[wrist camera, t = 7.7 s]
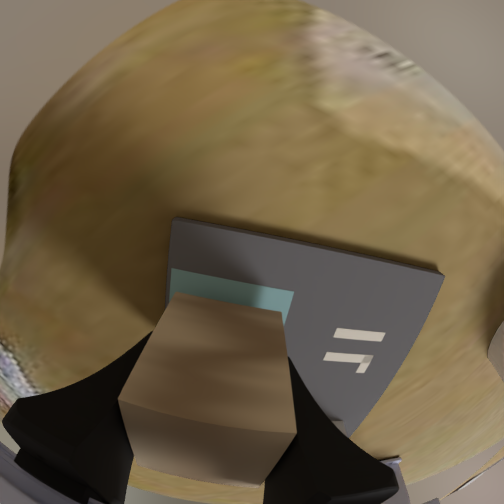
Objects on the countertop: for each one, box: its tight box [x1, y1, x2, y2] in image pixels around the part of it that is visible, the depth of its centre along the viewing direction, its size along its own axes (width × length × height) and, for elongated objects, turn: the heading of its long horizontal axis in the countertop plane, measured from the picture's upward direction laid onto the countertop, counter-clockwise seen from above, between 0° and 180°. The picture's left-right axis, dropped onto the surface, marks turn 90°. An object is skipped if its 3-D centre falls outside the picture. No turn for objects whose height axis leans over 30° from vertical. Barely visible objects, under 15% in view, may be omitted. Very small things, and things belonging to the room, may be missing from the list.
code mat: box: [165, 217, 445, 438], centre depth 15 cm, size 14×18×1 cm
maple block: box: [118, 292, 297, 488], centre depth 9 cm, size 4×4×6 cm
